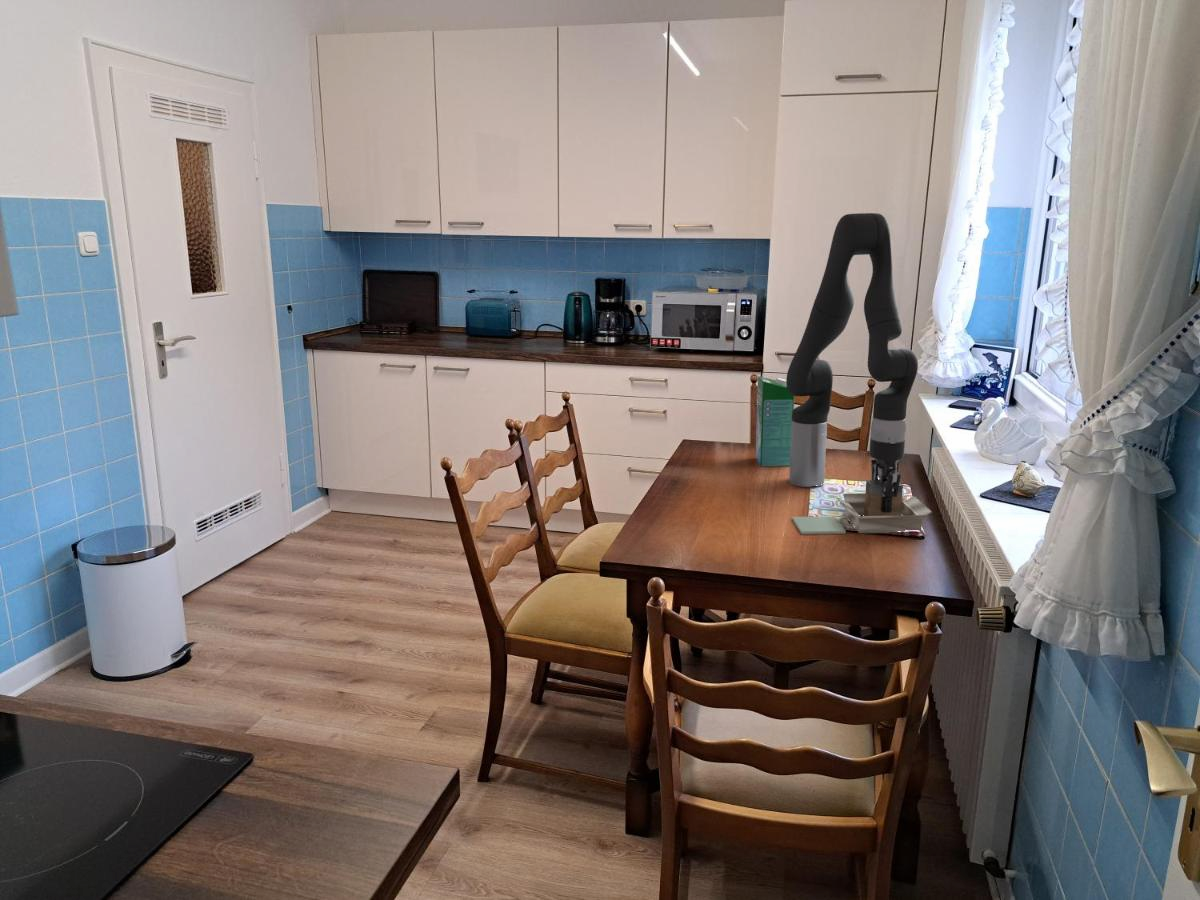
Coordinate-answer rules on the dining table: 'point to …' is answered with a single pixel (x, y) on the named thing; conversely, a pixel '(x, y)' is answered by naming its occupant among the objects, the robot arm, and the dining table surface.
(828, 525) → the mat
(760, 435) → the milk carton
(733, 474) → the dining table surface
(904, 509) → the carton
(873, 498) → the block
